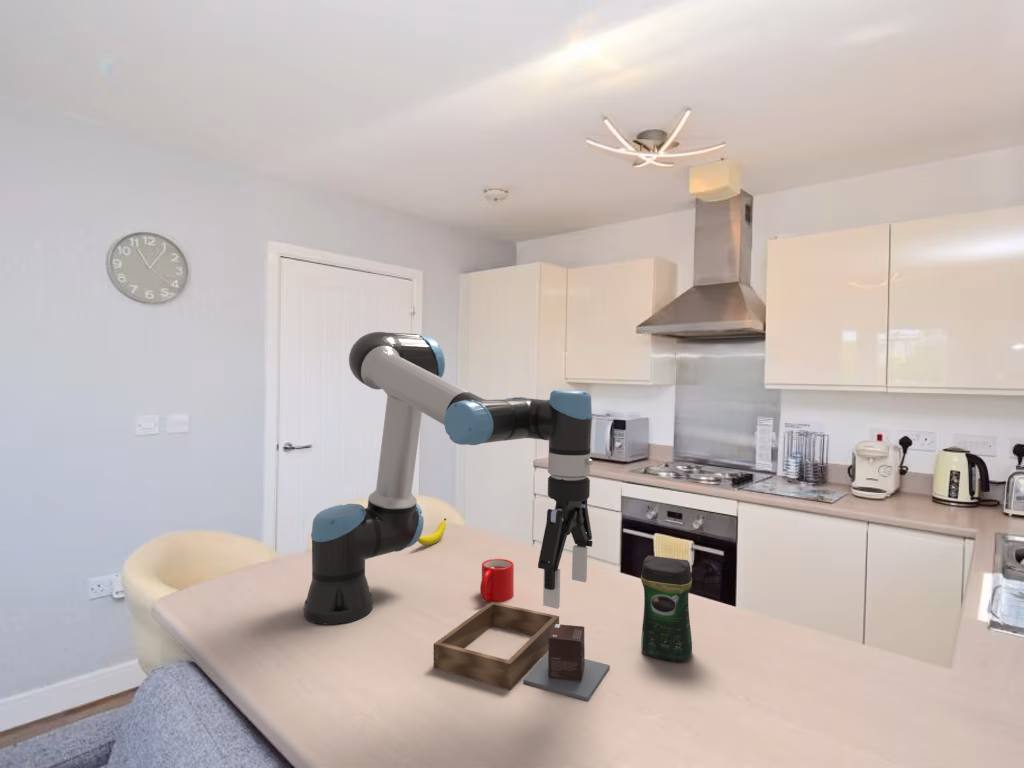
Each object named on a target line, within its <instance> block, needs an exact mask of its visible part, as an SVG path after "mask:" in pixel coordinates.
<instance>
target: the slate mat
mask: <svg viewBox="0 0 1024 768" xmlns="http://www.w3.org/2000/svg"><path fill="white" fill-rule="evenodd" d="M584 659H585V666H584V672H583V677H582V681H574V680H565V679H556V678H549V677H548V652H546V654H545V655H544V657H543V658H542V659H541V660H540V661H539V662H538V663H537V664H536V665H535V666H534V667H533V668H532V670H531V671H529V673H528V674H527V675H526V676H525V677H523V680H522V683H523V684H525V685H528V686H532V687H536V688H538V689H543V690H547V691H549V692H550V691H551V692H555V693H558V694H561V695H563V696H569V697H571V698H575V699H579V700H583V701H586V702H589V700H590V699H591V698H592V696H593V694H594V692H595V691H596V689H597V688H598V687H599V685H600V684H601V682H602V680H603V679H604V677H605V676H606V675H607V673H608V671H609V670H610V667H611V666H610V664H608V663H603V662H599V661H596V660H590V659H586V658H584Z"/></svg>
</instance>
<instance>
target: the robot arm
mask: <svg viewBox="0 0 1024 768" xmlns="http://www.w3.org/2000/svg"><path fill="white" fill-rule="evenodd" d="M348 366H349V368H350V371H351V372H352V375H353V376H354V377H355V379H356V380H358V381H359V382H360V383H362V384H363V385H365V386H367V387H369V388H370V389H372V390H383V392H384V393H385V394H386V396H387V397H386V406H385V412H384V413H385V414H384V422H383V429H382V436H381V437H382V438H381V446H380V455H379V461H378V463H379V464H378V470H377V480H376V487H375V490H374V491H373V492H371V493H370V494H369V496H368V500H367V507H366V508H365V506H364V505H362V504H358V503H346V504H338V505H334V506H331V507H328V508H324V509H323V510H321V511H319V512H318V513H317V514H316V515H315V516H314V518H313V520H312V526H311V533H310V534H311V535H310V537H311V577H312V578H311V582H310V585H309V588H308V591H307V596H306V599H305V601H304V604H303V616H304V618H305V619H306V620H307V621H309V622H311V623H315V624H320V625H337V624H340V625H341V624H344V623H349V622H354V621H356V620H360V619H362V618H363V617H366V616H367V615H369V614H370V613H371V612H372V611H373V608H374V607H373V606H374V603H373V602H374V600H373V599H374V598H373V594H372V592H371V591H370V587H369V582H368V579H367V577H366V560H368V559H371V558H375V557H379V556H382V555H383V556H384V555H386V554H391V553H393V552H394V553H395V552H396V553H397V552H401V551H403V550H405V549H407V548H411V547H412V546H414V545H415V544H416V543H417V542H418V539H419V538H420V536H422V533H423V530H424V523H425V522H424V521H425V520H424V516H423V515H422V513H423V510H422V508H421V507H420V505H419V504H418V503H417V498H416V497H415V495H414V494H413V492H412V490H413V482H414V474H415V469H416V468H415V467H416V461H417V454H418V453H417V451H418V446H419V438H420V430H421V422H422V415H423V414H424V415H427V417H430V418H432V419H433V420H435V421H436V422H438V423H440V424H441V425H444V430H445V434H447V435H448V436H449V439H450V441H451V442H453V443H454V444H456V445H461V446H462V445H463V446H464V445H469V446H477V445H482V444H488V443H494V442H505V441H514V440H523V439H534V440H543V441H548V455H547V456H548V458H547V460H548V463H547V473H548V474H549V477H548V478H547V496H548V497H549V498H550V499H551V500H554V501H555V506H554V509H551V508H548V509H547V510H546V511H547V512H546V523H545V528H544V531H543V532H544V534H543V538H542V543H541V548H540V552H539V557H538V563H537V568H538V569H541V570H543V590H542V591H543V592H542V593H543V594H542V595H543V596H542V597H543V599H542V606H543V607H547V608H553V609H559V608H560V603H561V602H560V601H561V600H560V599H561V598H560V597H561V595H560V593H561V568H560V569H559V566H560V561H561V558H562V555H563V553H564V549H565V548H564V547H565V544H566V540H567V537H568V536H570V535H571V537H572V538H573V542H574V545H572V565H571V567H572V568H571V580H572V581H575V582H576V581H577V582H582V583H586V582H587V579H588V547H589V548H591V547H593V541H592V539H593V535H592V528H591V527H592V526H591V522H590V515H589V509H588V499H589V498H590V495H591V493H590V491H591V490H590V489H591V488H590V487H591V479H589V477H588V476H589V475H590V474H591V466H592V465H593V464H594V461H593V459H591V438H592V437H591V434H592V421H593V420H592V419H593V412H592V411H593V410H592V409H593V408H592V395H591V394H590V393H589V392H588V391H586V390H576V389H575V390H571V389H553V390H552V391H551V392H550V394H549V399H540V398H539V399H538V398H526V397H522V396H521V397H520V396H519V397H516V396H514V397H508V398H507V397H506V398H504V399H485V398H482V397H480V396H478V395H476V394H474V393H472V392H470V391H468V390H466V389H464V388H462V387H461V386H458V385H457V384H455V383H453V382H450V381H448V380H446V379H444V378H443V376H444V374H445V368H446V359H445V354H444V351H443V349H442V348H441V345H440V344H439V342H438V341H437V340H436V339H434V338H433V337H431V336H429V335H422V334H419V333H405V332H404V333H403V332H400V333H399V332H385V331H375V332H370V333H367V334H364V335H362V336H361V337H359V338H358V339H357V340H356V341H355V343H354V344H353V345H352V347H351V348H350V352H349V354H348Z"/></svg>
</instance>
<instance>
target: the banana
mask: <svg viewBox="0 0 1024 768" xmlns="http://www.w3.org/2000/svg"><path fill="white" fill-rule="evenodd" d="M446 521H447V518H443V520H442V521H441V522H440V523H439V525H438V527H437V528H436V530H435V531H434V532H433V533H431V534H428V535H421V536H420V538H419V539H418V541H417V542H418V543H419V544H420V545H422V546H431V545H434V544H436V543H438V542H439V541H441V539H442V538H443V537H444V533H445V530H446V528H447V527H446V524H447V522H446Z"/></svg>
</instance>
